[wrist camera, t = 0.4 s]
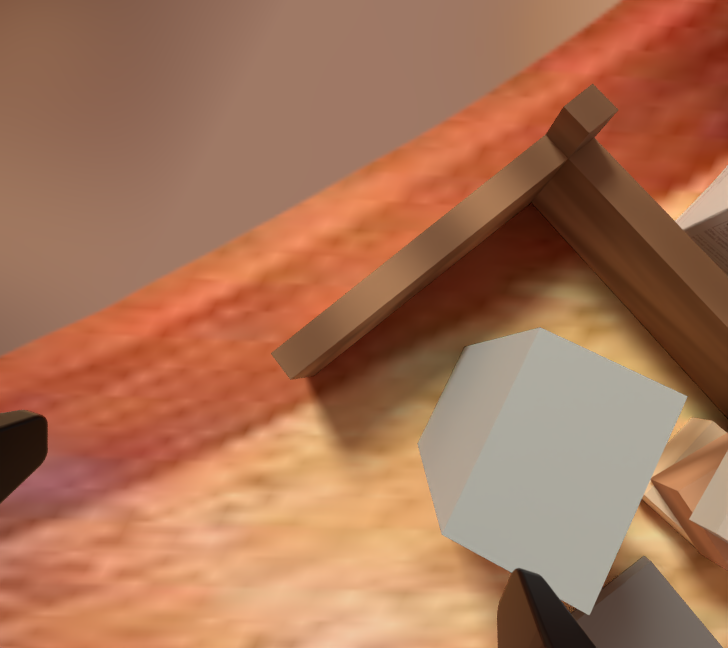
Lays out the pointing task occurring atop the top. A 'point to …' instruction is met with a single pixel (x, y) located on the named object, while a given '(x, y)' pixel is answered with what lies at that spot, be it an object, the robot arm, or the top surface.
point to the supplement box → (710, 221)
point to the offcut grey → (715, 504)
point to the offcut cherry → (694, 495)
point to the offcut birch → (675, 450)
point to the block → (545, 457)
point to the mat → (643, 614)
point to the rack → (583, 233)
